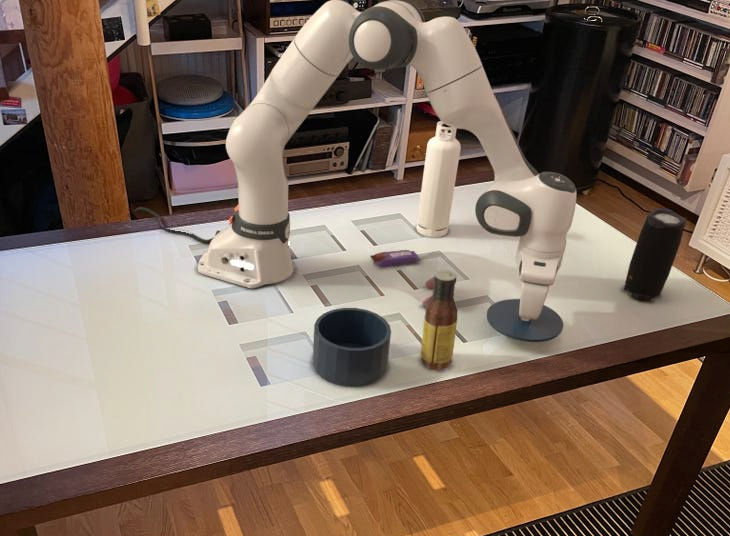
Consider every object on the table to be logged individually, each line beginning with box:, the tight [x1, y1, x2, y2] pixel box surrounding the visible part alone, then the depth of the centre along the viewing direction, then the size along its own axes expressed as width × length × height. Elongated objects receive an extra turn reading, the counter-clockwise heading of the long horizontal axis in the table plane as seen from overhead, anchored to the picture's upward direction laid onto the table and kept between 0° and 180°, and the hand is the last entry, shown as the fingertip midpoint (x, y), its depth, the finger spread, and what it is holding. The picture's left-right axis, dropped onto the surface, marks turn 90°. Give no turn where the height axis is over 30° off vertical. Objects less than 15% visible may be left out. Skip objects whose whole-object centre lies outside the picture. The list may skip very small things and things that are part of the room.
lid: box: [486, 298, 564, 343], centre depth 158 cm, size 16×16×5 cm
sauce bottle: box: [420, 269, 459, 370], centre depth 146 cm, size 7×6×20 cm
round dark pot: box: [312, 307, 392, 388], centre depth 148 cm, size 15×15×8 cm
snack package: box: [369, 249, 422, 268], centre depth 184 cm, size 12×2×5 cm
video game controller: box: [422, 276, 435, 309], centre depth 170 cm, size 10×5×7 cm, turn 168°
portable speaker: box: [623, 207, 687, 302], centre depth 170 cm, size 9×9×20 cm
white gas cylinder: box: [415, 120, 462, 238], centre depth 191 cm, size 8×8×28 cm
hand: (525, 314), depth 158 cm, fingers closed on lid, 2 cm apart
